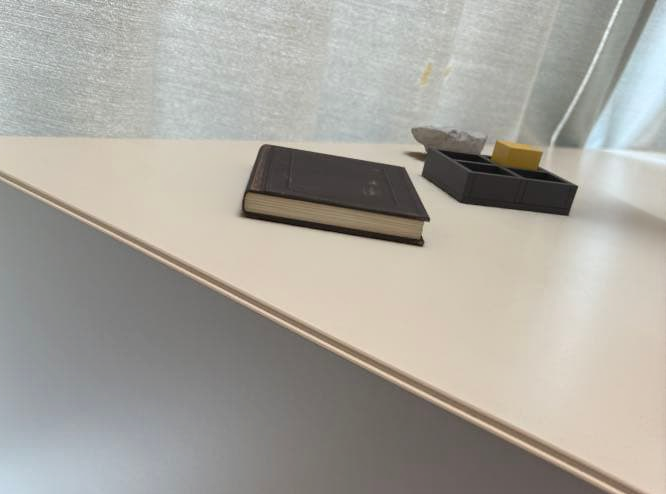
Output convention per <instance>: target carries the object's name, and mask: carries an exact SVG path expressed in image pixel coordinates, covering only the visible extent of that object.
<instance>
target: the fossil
mask: <svg viewBox="0 0 666 494" xmlns="http://www.w3.org/2000/svg"><path fill="white" fill-rule="evenodd" d="M410 132H411V134H412V136H413V139H414V140H415V141H416V142H417V143H419V144H421V145H422V146H423V147H424V152H426V153H427V150H428V147H430V148H437V149H445V150H452V151H460V152H467V153H475V154H481V155H482V151H483V150H484V148H485V144H486V143H487V139H488V135H487V133H485V132H480V131H468V130H465V129H461V128H459V127H455V126H438V127H437V126H434V125H421V126H412V127H411V129H410Z"/></svg>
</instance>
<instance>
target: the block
mask: <svg viewBox="0 0 666 494" xmlns="http://www.w3.org/2000/svg"><path fill="white" fill-rule="evenodd" d="M543 153H544V151H543V150H540V149H539V148H536V147H534V146H532V145H529V144H526V143H520V142H519V143H518V142H512V141H505V140H497V139H496V140H495V143H494V147H493V151H492V154H491V156H492V157H491V160H492V161H494V162H496V163H498V164H500V165H502V166H509V167H517V168H525V169H532V170H538V166H539V167H540V163H541V160H542V157H543Z"/></svg>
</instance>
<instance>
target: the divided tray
mask: <svg viewBox="0 0 666 494" xmlns="http://www.w3.org/2000/svg"><path fill="white" fill-rule="evenodd" d="M491 157H492V155H490V154H489V155H488V154H482V153H481V154H475V153H467V152H460V151H452V150H445V149H437V148H430V147H428V150H427V152H426V154H425V158H424V163H423V166H422V171H421V176H422V177H423V178H425V179H426V180H427V181H429V182H431V183H432V184H433V185H434V186H437V187H438V188H439V189H441V190H442V191H443V192H445V193H447V194H448V195H449V196H451V197H452V198H453V199H455V200H456V201H458V202H460V203H462V204H469V205H477V206H478V205H479V206H486V207H487V206H488V207H496V208H502V209H512V210H521V211H529V212H537V213H546V214H555V215H563V216H569V215H570V212H571V209H572V206H573V204H574V200H575V198H576V195H577V192H578V190H579V185H577V184H575V183H573V182H571V181H569V180H567V179H565V178H563V177H561V176H559V175H557V174H556V173H554V172H551V171H549V170H547V169H546V168H543V167H541V166H540V165H539V166H538V170H532V169H525V168H517V167H509V166H502V165H500V164H498V163H496V162H494V161H492V160H491Z"/></svg>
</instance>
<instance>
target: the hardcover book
mask: <svg viewBox="0 0 666 494" xmlns="http://www.w3.org/2000/svg"><path fill="white" fill-rule="evenodd" d="M241 211H242V213H243V214H244V215H245V216H246V217H247V218H252V219H258V220H265V221H271V222H275V223H283V224H289V225H293V226H295V225H296V226H300V227H306V228H307V227H308V228H313V229H318V230H319V229H320V230H326V231H332V232H338V233H344V234H349V235H357V236H363V237H368V238H374V239H380V240H386V241H394V242H398V243H399V242H400V243H405V244H412V245H416V246H417V245H418V246H425V240H424V237H423V235H422V234H423V232H424V231H423V230H424V225H425V222H426V223H430V222H431V217H430V216H429V212H428V211H427V209H426V207H425V205H424V203H423V201H422V199H421V197H420V195H419V193H418V191H417V189H416V187H415V185H414V183H413V181H412V178H411V176H410V174H409V173H408V171H407V168H406V167H405V166H400V165H394V164H389V163H383V162H376V161H371V160H364V159H360V158H352V157H348V156H347V157H346V156H343V155H341V156H340V155H337V154H336V155H335V154H331V153H323V152H317V151H311V150H305V149H299V148H294V147H287V146H281V145H276V144H269V143H263V145H261V146H260V147H259V149H258V152H257V154H256V157H255V160H254V164H253V167H252V169H251V173H250V175H249V178H248V180H247V184H246V186H245V190H244V193H243V196H242V200H241Z"/></svg>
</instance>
